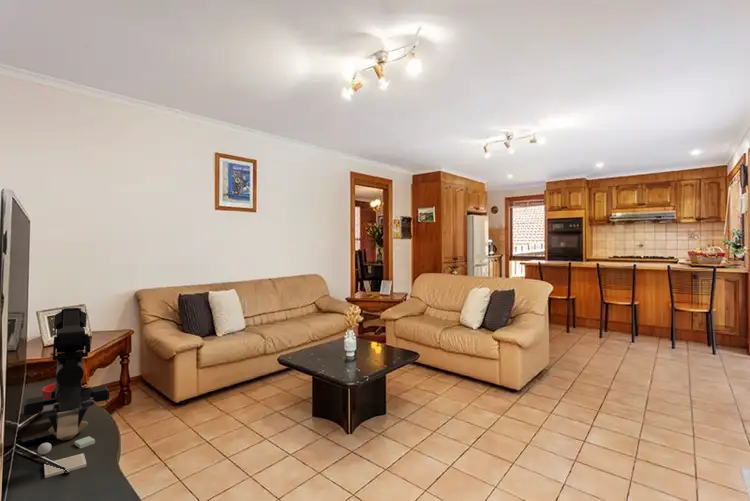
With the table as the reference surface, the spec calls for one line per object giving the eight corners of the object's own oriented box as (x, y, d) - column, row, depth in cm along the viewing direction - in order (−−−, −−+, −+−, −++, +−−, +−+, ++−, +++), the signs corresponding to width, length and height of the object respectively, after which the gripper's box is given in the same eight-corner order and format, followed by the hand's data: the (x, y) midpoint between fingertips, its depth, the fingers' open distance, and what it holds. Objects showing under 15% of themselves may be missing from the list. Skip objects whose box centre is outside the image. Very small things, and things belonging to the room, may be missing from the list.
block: (56, 432, 108) (56, 413, 108) (75, 427, 112) (76, 409, 112) (57, 438, 105) (57, 418, 105) (77, 433, 108) (78, 414, 108)
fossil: (92, 418, 126) (54, 420, 118) (91, 431, 123) (53, 435, 116) (81, 429, 129) (44, 433, 122) (80, 442, 127) (42, 447, 120)
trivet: (43, 466, 108) (44, 463, 108) (83, 455, 114) (83, 452, 114) (44, 478, 103) (45, 474, 103) (86, 466, 109) (86, 463, 109)
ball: (37, 453, 114) (37, 442, 114) (51, 449, 116) (51, 439, 116) (37, 457, 112) (37, 447, 112) (51, 454, 114) (52, 443, 114)
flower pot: (39, 410, 141) (40, 384, 141) (76, 403, 149) (77, 378, 149) (42, 421, 134) (43, 393, 133) (81, 412, 141) (82, 386, 141)
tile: (74, 445, 120) (74, 441, 120) (88, 440, 123) (89, 436, 123) (80, 449, 118) (80, 445, 118) (94, 444, 121) (95, 439, 121)
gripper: (25, 391, 96) (22, 452, 96) (113, 376, 109) (110, 430, 109) (25, 378, 104) (22, 434, 104) (107, 366, 117) (104, 416, 117)
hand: (66, 429), depth 108 cm, fingers closed on block, 4 cm apart
